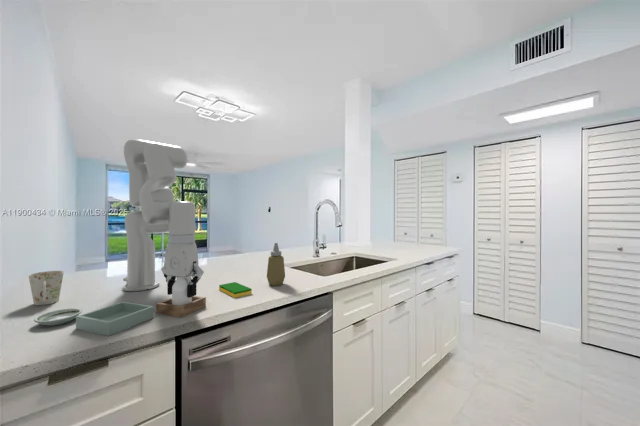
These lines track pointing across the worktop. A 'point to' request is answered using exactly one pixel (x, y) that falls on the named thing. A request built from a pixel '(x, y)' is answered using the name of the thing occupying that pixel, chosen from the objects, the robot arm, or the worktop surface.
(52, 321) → the saucer
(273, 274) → the squeeze bottle
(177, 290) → the white tall block
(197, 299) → the shallow wooden box
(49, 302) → the mug
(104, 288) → the worktop surface
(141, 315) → the tray
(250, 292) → the dish sponge
